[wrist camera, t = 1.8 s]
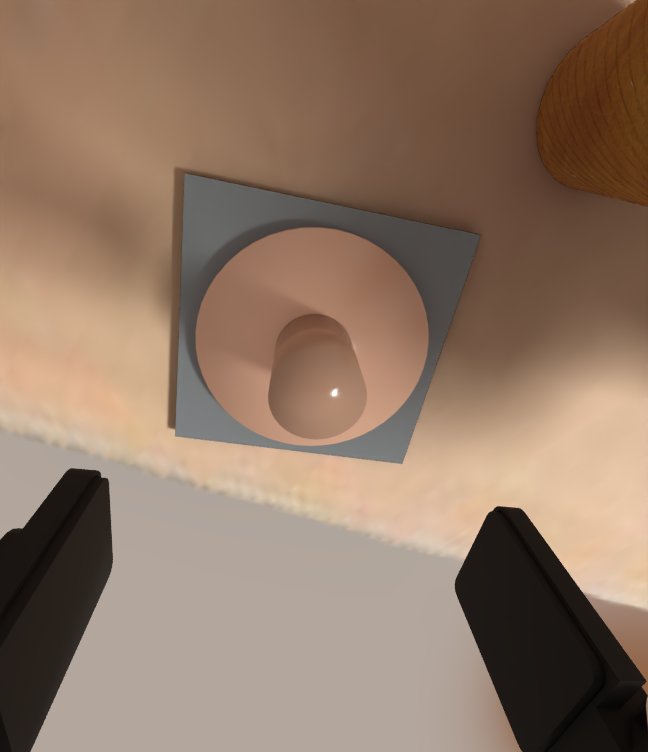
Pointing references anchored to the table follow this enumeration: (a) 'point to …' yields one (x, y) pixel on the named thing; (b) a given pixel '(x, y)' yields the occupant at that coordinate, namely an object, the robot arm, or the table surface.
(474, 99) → the table surface
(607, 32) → the disposable coffee cup
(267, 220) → the mat
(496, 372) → the table surface
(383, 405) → the lid
